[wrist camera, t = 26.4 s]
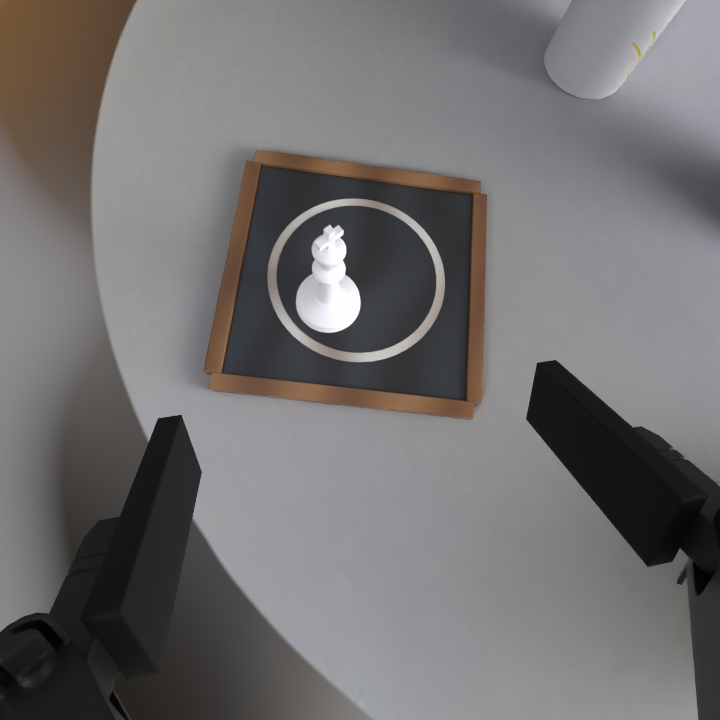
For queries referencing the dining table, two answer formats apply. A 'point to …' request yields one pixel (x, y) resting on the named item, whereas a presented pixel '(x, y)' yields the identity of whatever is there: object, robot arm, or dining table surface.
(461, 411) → the slate
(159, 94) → the dining table surface
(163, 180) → the dining table surface
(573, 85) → the white cylinder
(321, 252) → the chess piece
